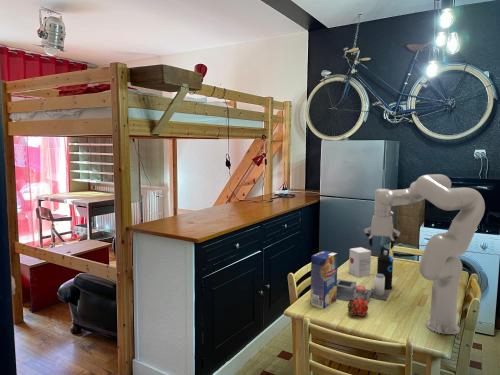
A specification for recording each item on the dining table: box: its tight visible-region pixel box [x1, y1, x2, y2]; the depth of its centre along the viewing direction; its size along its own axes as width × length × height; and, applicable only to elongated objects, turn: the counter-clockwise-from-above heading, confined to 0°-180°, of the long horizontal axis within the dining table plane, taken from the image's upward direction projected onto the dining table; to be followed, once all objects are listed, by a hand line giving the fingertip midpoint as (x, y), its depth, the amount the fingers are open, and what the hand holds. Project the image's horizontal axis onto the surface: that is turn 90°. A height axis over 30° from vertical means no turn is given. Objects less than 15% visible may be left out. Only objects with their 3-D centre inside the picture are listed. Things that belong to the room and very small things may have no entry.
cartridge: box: [373, 273, 385, 296], centre depth 190 cm, size 5×5×10 cm
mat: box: [370, 287, 391, 302], centre depth 190 cm, size 12×9×1 cm
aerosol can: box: [376, 250, 394, 291], centre depth 199 cm, size 8×8×20 cm
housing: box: [336, 278, 373, 304], centre depth 189 cm, size 15×18×5 cm
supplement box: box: [348, 246, 372, 278], centre depth 220 cm, size 9×9×15 cm
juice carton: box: [310, 250, 339, 310], centre depth 180 cm, size 12×8×24 cm, turn 139°
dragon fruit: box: [347, 298, 369, 317], centre depth 168 cm, size 8×8×12 cm
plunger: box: [356, 285, 367, 293], centre depth 182 cm, size 5×5×4 cm
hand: (381, 247), depth 187 cm, fingers open, 9 cm apart
